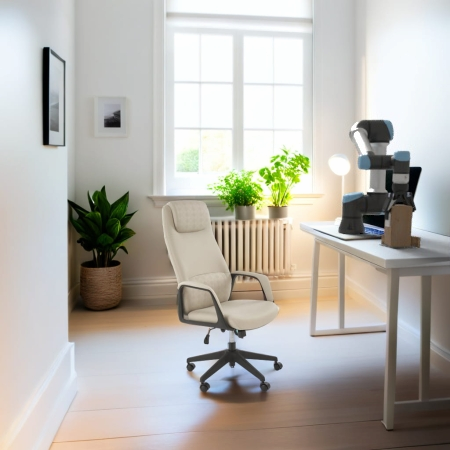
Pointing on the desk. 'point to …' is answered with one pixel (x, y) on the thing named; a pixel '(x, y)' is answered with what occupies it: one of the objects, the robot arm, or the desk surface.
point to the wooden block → (399, 227)
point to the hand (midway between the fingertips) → (398, 225)
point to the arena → (414, 243)
